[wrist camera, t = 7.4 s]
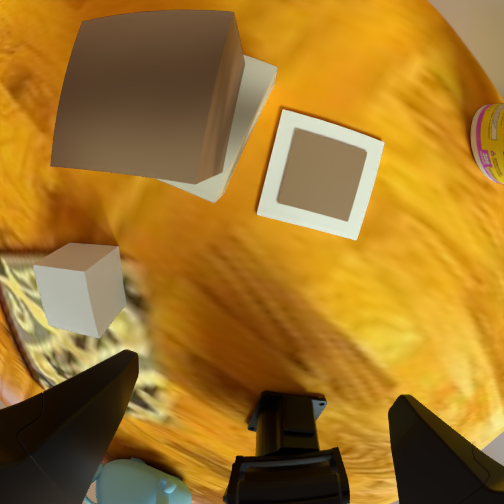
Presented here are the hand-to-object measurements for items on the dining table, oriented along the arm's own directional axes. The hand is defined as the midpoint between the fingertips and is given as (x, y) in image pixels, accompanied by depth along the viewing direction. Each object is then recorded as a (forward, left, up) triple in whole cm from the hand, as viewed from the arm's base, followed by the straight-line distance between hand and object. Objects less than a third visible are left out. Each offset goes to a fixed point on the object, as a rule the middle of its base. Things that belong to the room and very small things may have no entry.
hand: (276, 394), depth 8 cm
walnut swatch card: (+6, -2, -12) cm, 14 cm away
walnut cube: (+8, +7, -9) cm, 14 cm away
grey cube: (-5, +13, -12) cm, 19 cm away
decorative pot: (-42, +9, -12) cm, 44 cm away
